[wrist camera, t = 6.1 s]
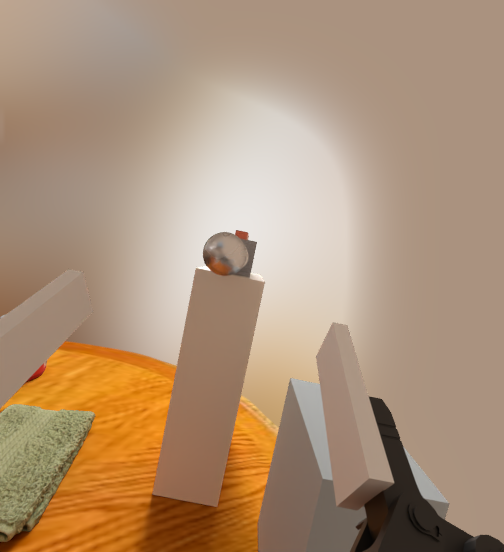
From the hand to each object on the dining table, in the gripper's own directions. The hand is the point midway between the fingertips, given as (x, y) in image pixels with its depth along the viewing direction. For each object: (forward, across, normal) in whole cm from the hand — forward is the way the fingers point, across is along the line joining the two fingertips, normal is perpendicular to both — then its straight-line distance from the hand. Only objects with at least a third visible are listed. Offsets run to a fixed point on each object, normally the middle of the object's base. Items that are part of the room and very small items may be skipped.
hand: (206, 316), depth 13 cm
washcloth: (0, -22, -31) cm, 38 cm away
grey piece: (+16, 0, -8) cm, 17 cm away
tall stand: (+6, -1, -34) cm, 35 cm away
